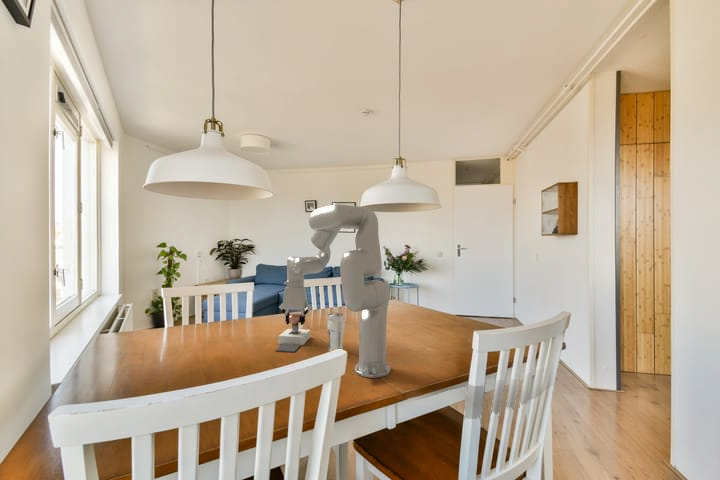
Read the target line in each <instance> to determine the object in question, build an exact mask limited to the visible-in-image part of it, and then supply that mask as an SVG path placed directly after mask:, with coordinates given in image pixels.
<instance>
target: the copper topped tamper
mask: <svg viewBox="0 0 720 480" xmlns="http://www.w3.org/2000/svg"><path fill="white" fill-rule="evenodd" d="M289 314H290V315H289V324H291V329H292V334H296V335H298V329H299V324H300V320H301V313H296V312H295V313H289Z"/></svg>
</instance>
